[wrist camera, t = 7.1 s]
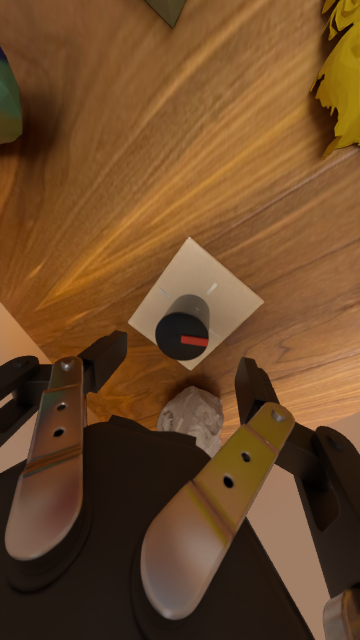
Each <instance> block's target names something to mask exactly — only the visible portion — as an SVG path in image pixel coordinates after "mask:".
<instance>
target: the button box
mask: <svg viewBox="0 0 360 640" xmlns="http://www.w3.org/2000/svg"><path fill="white" fill-rule="evenodd" d="M145 1H146V2H147V3H148V4H149V5H150V6H151V7H152V8H153V9H154V10H155V11H156V12H157V13H158V14H159V15H160V16H161V17H162V18H163V19H164V20H165V21H166V22H167V23H168V24H169V25H170V26H171V27H172V28H173V27H174V25H175V23H176V20H177V18H178V16H179V14H180V11H181V9H182V7H183V5H184V2H185V0H145Z"/></svg>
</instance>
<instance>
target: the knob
mask: <svg viewBox="0 0 360 640" xmlns="http://www.w3.org/2000/svg"><path fill="white" fill-rule="evenodd" d="M209 321H210V311H209V307H208V305H207V303H206V302H205V301H204V300H203V299H202V298H200V297H199V296H196V295H192V294H187V295H183V296H180V297H178V298H177V299H176V300H175V301H174V302H173V304H172V305H171V306H170V308H169V309H168V310H167V312H166V313H165V314H164V316H163V317H162V318H161V320H160V321H159V323H158V324H157V326H156V330H155V339H156V342H157V345H158V347H159V348H160V350H161V351H162V352H163V353H164V354H165V355H167V356H168V357H170V358H172V359H175V360H179V361H189V360H193V359H195V358H197V357H199V356H200V355H201V354H202V353H203V352H204V351H205V350H206V348H207V346H208V342H209Z"/></svg>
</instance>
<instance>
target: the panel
mask: <svg viewBox="0 0 360 640" xmlns="http://www.w3.org/2000/svg"><path fill="white" fill-rule="evenodd" d="M187 294H192V295H196V296H199V297H200V298H202V299H203V300H204V301H205V302H206V303H207V305H208V307H209V311H210V321H209V342H208V346H207V348H206V350H205V351H204V352H203V353H202V354H201V355H200V356H199V357H197V358H195V359H193V360H189V361H179V360H177V361H178V362H180V363H181V364H182V365H183V366H185V367H186V368H187V369H189V370H190V371H191V370H192V369H193V368H194V367H195V366H196V365H198V364H199V363H200V362H201V361H202V360H203V359H204V358H205V357H206V356H207V355H208V354H209V353H210V352H211V351H213V350H214V349H215V348H216V347H217V346H218V345H219V344H220V343H221V342H222V341H223V340H224V339H225V338H226V337H228V336H229V335H230V334H231V333H232V332H233V331H234V330H235V329H236V328H237V327H238V326H239V325H240V324H241V323H243V322H244V321H245V320H246V319H247V318H248V317H249V316H250V315H251V314H252V313H253V312H254V311H255V310H256V309H258V308H259V307H260V306H261V305H262V304H263V303H264V301H263V300H262V299H261V298H260V297H259V296H258V295H257V294H256V293H255V292H254V291H252V290H251V289H250V288H249V287H248V286H247V285H245V284H244V283H243V282H242V281H241V280H240V279H239V278H237V277H236V276H235V275H234V274H233V273H232V272H230V271H229V270H228V269H227V268H226V267H225V266H223V265H222V264H221V263H220V262H219V261H218V260H217V259H215V258H214V257H213V256H212V255H211V254H210V253H208V252H207V251H206V250H205V249H204V248H203V247H202V246H200V245H199V244H198V243H197V242H196V241H195V240H193V239H192V238H190V237H188V238H187V240H186V241H185V242H184V244H183V245H182V247H181V248H180V249H179V251H178V252H177V254H176V255H175V257H174V258H173V259H172V261H171V262H170V264H169V265H168V266H167V268H166V269H165V271H164V272H163V273H162V275H161V276H160V278H159V279H158V280H157V282H156V283H155V285H154V286H153V287H152V289H151V290H150V292H149V293H148V294H147V296H146V297H145V299H144V300H143V301H142V303H141V304H140V306H139V307H138V309H137V310H136V311H135V313H134V314H133V316H132V317H131V318H130V320H129V321H128V324H130V325H131V326H132V327H134V328H135V329H136V330H138V331H139V332H140V333H142V334H143V335H144V336H145V337H147V338H148V339H149V340H151V341H152V342H153V343H155V344H156V345H157V342H156V339H155V330H156V326H157V324H158V323H159V321H160V320H161V318H162V317H163V316H164V314H165V313H166V312H167V310H168V309H169V308H170V306H171V305H172V304H173V302H174V301H175V300H176V299H177V298H178V297H180V296H183V295H187ZM157 346H158V345H157Z"/></svg>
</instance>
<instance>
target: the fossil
mask: <svg viewBox="0 0 360 640" xmlns="http://www.w3.org/2000/svg"><path fill="white" fill-rule="evenodd" d="M221 403H222V400H221V399H220V398H218V397H216V396H214V395H213V394H211V393H210V392H208V391H205V390H202V389H198V388H196V387H195V386H190V387H188V388H186V389H184V390H183V391H182V392H180V393H179V394H177V395H176V396H175V398H173V399H172V400H170V401H169V402H168V403H167V405H166V406H165V407H164V408H163V409H162V411H161V414H160V416H159V418H158V421H157V431H176V432H179V433H183V434H187V435H191V436H194V437H197V439H196V445H197V446H198V447H200V448H201V449H203V450H204V451H205V452H206V453H207V454H208V455H209V456H210V457H211V458H213V457H214V455H215V454H216V453H217V451H218V450H219V448H220V447H221V438H220V433H221V429H222V426H223V422H224V415H223V412H222V404H221Z"/></svg>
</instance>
